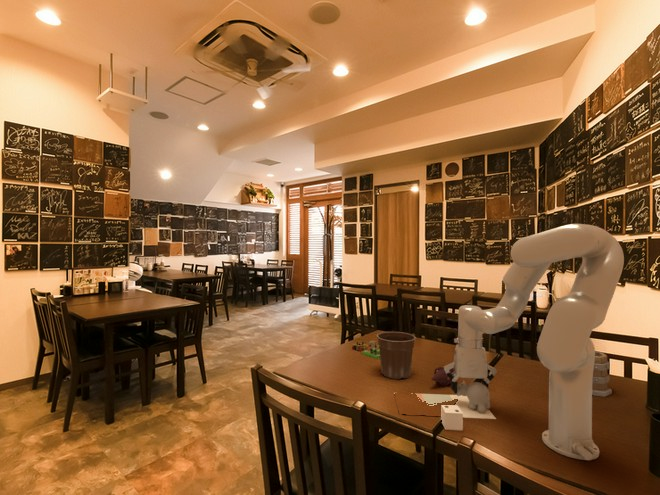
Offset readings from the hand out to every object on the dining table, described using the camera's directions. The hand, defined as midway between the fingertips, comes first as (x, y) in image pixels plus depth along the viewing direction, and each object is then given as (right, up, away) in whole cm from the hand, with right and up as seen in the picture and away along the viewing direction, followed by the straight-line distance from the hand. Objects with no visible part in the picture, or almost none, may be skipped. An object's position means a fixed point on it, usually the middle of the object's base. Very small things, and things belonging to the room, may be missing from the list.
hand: (469, 392), depth 114 cm
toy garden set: (-22, -5, +61) cm, 66 cm away
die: (-11, -4, -13) cm, 17 cm away
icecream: (-3, -5, +18) cm, 19 cm away
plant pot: (-19, -5, +28) cm, 35 cm away
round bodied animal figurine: (0, -5, 0) cm, 5 cm away
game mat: (-10, -4, 0) cm, 11 cm away
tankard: (+48, -5, +15) cm, 50 cm away
